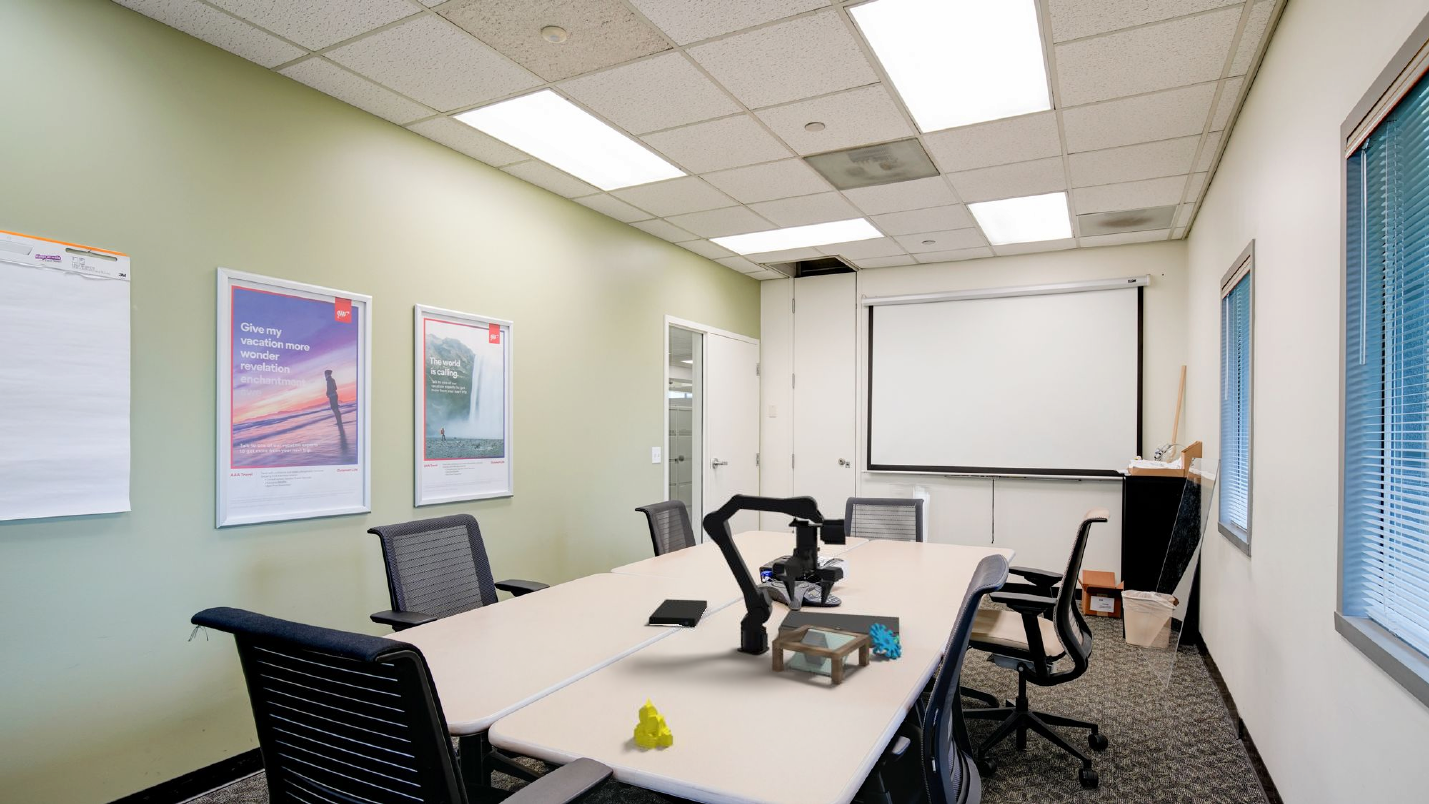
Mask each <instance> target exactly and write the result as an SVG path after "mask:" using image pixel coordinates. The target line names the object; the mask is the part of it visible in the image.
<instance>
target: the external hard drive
mask: <svg viewBox="0 0 1429 804" xmlns="http://www.w3.org/2000/svg"><path fill="white" fill-rule="evenodd" d="M706 608H707V609H708V601H707V600H702V599H700V600H699V599H695V600H694V599H668V598H666V599H664V601H663V602H661V604H660V605H659V606H658V607H657V608H656V609H655V611H654V612H653V613H652V614H651V615H650V616H649V617H648V625H649V624H679V625H682V626H690V627H689V628H696V627H697V625H698V624H699V622H700V621H701V619H702V617H703V616H702V614H703V612H704V611H705V609H706ZM707 609H706V610H707ZM705 612H706V611H705ZM703 615H704V614H703ZM701 616H702V617H701ZM695 626H696V627H695Z"/></svg>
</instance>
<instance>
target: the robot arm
mask: <svg viewBox="0 0 1429 804" xmlns="http://www.w3.org/2000/svg"><path fill="white" fill-rule="evenodd" d="M818 507H819V505H818V502H817V500H816V499H815V497H813V496H812V495H811V496H810V495H801V496H800V495H799V496H791V497H783V498H782V497H773V496H772V497H771V496H758V495H748V494H747V495H746V494H742V493H737V494H735V495H732V496H731V498H730V499H729V500H728V501H726V502H725V503H724V504H723V505H722V506H721V507H720V508H718V509H717V510H716V509H715V510H713V511H710V512H709V513H707V514H706V515H705V516H704V517H703V520H702V528H703V530H704V531H705V533H706V534H707V535H708V536H709V538H710V539H711V540H712V541H713V542H714V543H715V544H716V545H717V546H718V547H719V550H720V551H721V554H722V555H723V557H724V559H725V561H726V563H727V565H728V567H729V569H730V571H731V573H732V574H733V576H734V579H735V581H736V583H737V585H738V586H739V588H740V591H741V593H742V596H743V601H744V605H745V608H746V613H745V615H744V616H743V618H742V619H741V621H740V647H738V648H737V651H738V652H743V653H747V654H752V655H760V654H762V653H764V652H766V651H768V650H770V646H769V636H768V635H769V633H768V632H767V626H764V624H766V623H767V622H768V621H769V620H770V617H771V616H772V613H773V610H774V608H773V602H774V600H773V599H772V598H771V596H770V595H769V592H768V589H767V588H764V589H761V588H760V587H759V586H758V585H757V584H756V582H755V580H754V578H753V576H752V574H751V572H750V570H749V568H748V566H747V564H746V562H745V560H744V558H743V557H742V554H741V553H740V551H739V548H738V547H737V545H736V543H735V541H734V539H733V534H732V530H731V526H730V523H729V519H731V518H732V517H733V516H734V515H735V514H736V513H737V512H739V510H743V511H744V510H746V511H756V512H757V511H758V512H768V513H769V512H770V513H781V514H785V515H788V516H791V517H794V518H793V519H792V521H791V522H789V524H788V527H789V528H795V547H793V551H792V555H791V556H790V557H789V558H788V559H786V560H784V559H783V560H779V561H775V562H774V563H772V565H771V574H774V575H775V576H776V577H777V578H779V579H780V580H781V581H782V582H783V584H784V586H785V590H786V593H787V596H788V598H789V599H788V600H789V601H790V602H794V601H795V592H796V591H795V590H796V578H802V577H803V576H804V575H809V576H810V575H811V576H818V577H820V579H821V580H819V584H820V606H821V607H825V605H826V603H827V600H828V598H829V595H830V593H831V590H832V589H833V587H834V585H835V583H837V582H839V581H840V580H843V579H844V570H843V568H842V566H841V567H839V566H834V565H828V566H825V567H822V568H820V567H821V562H819V560H818V559H819V557H818V555H819V552H820V551H821V547H819V545H818V544H819V543H818V540H819V541H820V542H823V543H824V545H827V546H828V545H830V546H833V545H835V546H846V544H847V541H846V540H847V538H846V537H847V534H846V533H847V530H846V522H845V521H846V519H845V518H836V519H835V518H834V519H833V518H828V519H827V518H825V516H824V514H822V512H821V511H820V509H818ZM800 519H801V520H800ZM809 520H810V521H811V522H812V523H810V521H809ZM818 530H819V534H818ZM818 535H819V536H818ZM818 537H819V539H818Z"/></svg>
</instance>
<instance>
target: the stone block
mask: <svg viewBox="0 0 1429 804" xmlns="http://www.w3.org/2000/svg"><path fill="white" fill-rule="evenodd" d="M800 643H801V644H805V645H811V646H816V647H822V648H827V649H829V648H828V644H827V640H826V637H825V633H819V632H813V631H808V632H807V633H806V635H805V637H804V638H803V640H802V642H801V641H800ZM804 657H805V660H806V662H807V663H812V664H817V665H822V666H823V664H824V662H825V661H826V659H827V658H825V657H820V656H815V655H810V654H805V653H804Z"/></svg>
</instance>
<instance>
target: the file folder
mask: <svg viewBox="0 0 1429 804" xmlns="http://www.w3.org/2000/svg"><path fill="white" fill-rule="evenodd" d="M875 623H877V624H879V629H880V630H881V628H880V626H881V625H882V624H883V625H884V626H885V627H886V629H885V630H884V631H885V632H888V631H889V630H891V631H892V632H893V634H892V635H891V636H892V637H896V636H899V637H900V617H899V616H885V615H883V616H882V615H869V614H854V613H853V614H849V613H835V612H834V613H833V612H816V611H800V610H789V611H788V612H787V614H786V615H785V617H784V618H783V620H781V623H780V625H779V626H778V628H777V630H778V631H777V632H778V637H777V638H779V637H781V636H783V635H786V634H788V633H790V632H792V631H794V630H796V629H798V628H800V627H802V626H804V625H810V626H816V627H822V628H827V629H833V630H839V631H845V632H851V633H857V634H863V635H869V633H870V632H871V630H870V629H869V628H870V627H871V626H874V624H875ZM873 639H874V638H873V637H871V636H869V647H876V646H877V645H878V644H875V645H874V644H873V643H872V640H873ZM801 641H802V637H801V638H799V639H797V640H795V641H794V642H801ZM897 644H899V645H901V644H900V640H899V641H898V642H897Z"/></svg>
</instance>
